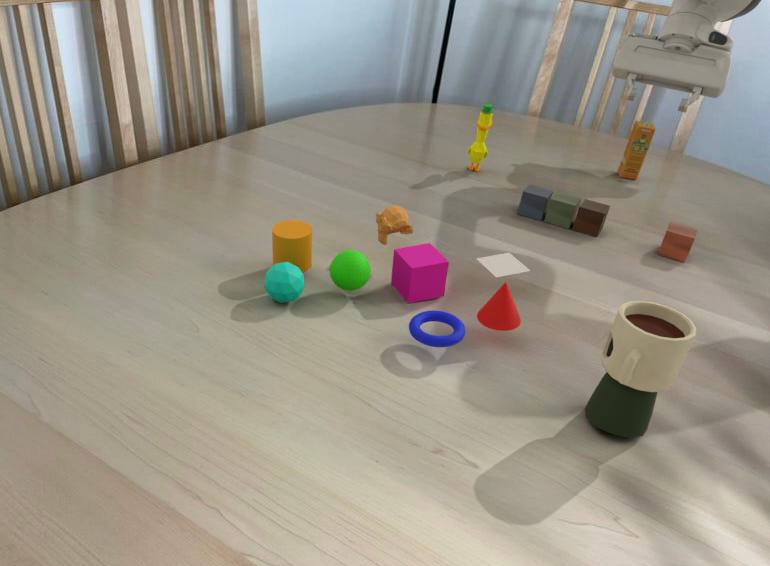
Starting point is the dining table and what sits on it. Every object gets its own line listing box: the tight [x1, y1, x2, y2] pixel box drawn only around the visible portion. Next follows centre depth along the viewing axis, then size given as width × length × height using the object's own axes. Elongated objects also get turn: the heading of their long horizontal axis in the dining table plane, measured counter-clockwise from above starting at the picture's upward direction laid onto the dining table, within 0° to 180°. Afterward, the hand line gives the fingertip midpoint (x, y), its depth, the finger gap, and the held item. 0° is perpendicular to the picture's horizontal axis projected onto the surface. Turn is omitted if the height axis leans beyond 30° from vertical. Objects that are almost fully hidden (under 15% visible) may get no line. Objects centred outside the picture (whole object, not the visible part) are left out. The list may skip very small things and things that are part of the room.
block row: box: [516, 183, 698, 263], centre depth 117 cm, size 4×26×4 cm, turn 59°
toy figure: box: [467, 103, 494, 172], centre depth 134 cm, size 7×4×12 cm, turn 161°
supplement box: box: [617, 120, 656, 180], centre depth 138 cm, size 3×3×10 cm
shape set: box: [263, 205, 531, 348], centre depth 94 cm, size 29×35×7 cm
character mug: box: [584, 300, 697, 439], centre depth 74 cm, size 11×7×13 cm, turn 140°
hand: (655, 104), depth 139 cm, fingers open, 8 cm apart
